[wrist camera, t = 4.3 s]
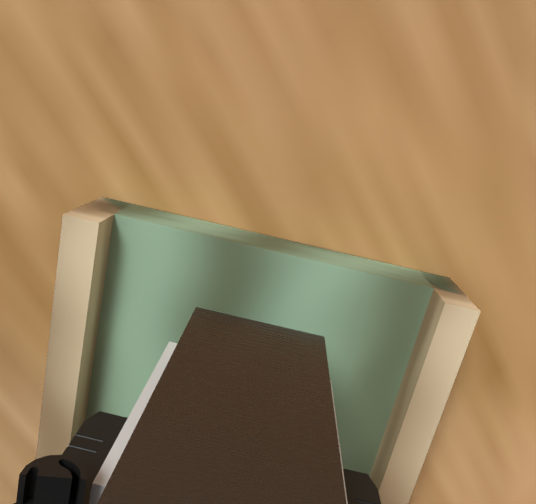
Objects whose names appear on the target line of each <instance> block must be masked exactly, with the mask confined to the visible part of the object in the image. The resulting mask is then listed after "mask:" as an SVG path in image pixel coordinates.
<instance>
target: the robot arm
mask: <svg viewBox="0 0 536 504" xmlns="http://www.w3.org/2000/svg"><path fill="white" fill-rule="evenodd" d="M177 344H178V343H174V342H170V341H169V343H168V345H167V347H166V348H165V350H164V352H163V354H162V356H161V358H160V360H159V361H158V363H157V365H156V367H155V369H154V371H153V372H152V374H151V376H150V378H149V380H148V382H147V384H146V385H145V387H144V389H143V391H142V393H141V395H140V396H139V398H138V400H137V402H136V404H135V406H134V407H133V409H132V411H131V413H130V415H129V417H128V418H127V417H122V416H118V415H114V414H110V413H106V412H102V411H99V412H97V413H96V414H94V415H93V416H91V417H90V418H88V419H86V420H85V421H84V423H83V424H82V426H81V427H80V428H79V430H78V431H77V433H76V436H74V437H73V439H72V440H71V442H70V443H69V446H68V447H67V448H66V449H65V451H64V452H63V454H62V455H48V456H44V457H41V458H38V459H36V460H34V461H32V462H31V463H29V464H28V465H26V466H25V468H24V469H23V470H22V472H21V473H20V475H19V484H18V492H17V501H16V503H14V504H97V502H98V500H99V498H100V496H101V494H102V492H103V490H104V488H105V486H106V484H107V482H108V481H109V479H110V477H111V475H112V473H113V471H114V469H115V467H116V465H117V463H118V461H119V459H120V457H121V455H122V453H123V451H124V449H125V447H126V445H127V443H128V441H129V439H130V437H131V435H132V433H133V431H134V429H135V427H136V425H137V423H138V421H139V419H140V417H141V415H142V413H143V411H144V409H145V407H146V405H147V403H148V401H149V399H150V397H151V395H152V393H153V391H154V389H155V387H156V385H157V383H158V381H159V379H160V377H161V375H162V373H163V371H164V369H165V367H166V365H167V363H168V361H169V359H170V357H171V355H172V353H173V351H174V349H175V348H176V346H177ZM330 383H331V381H330ZM331 390H332V384H331ZM332 398H333V391H332ZM333 405H334V398H333ZM334 413H335V406H334ZM335 421H336V428H337V420H336V413H335ZM337 436H338V443H339V435H338V428H337ZM339 451H340V459H341V466H342V474H343V481H344V489H345V497H346V504H381V501H380V496H379V492H378V489H377V487H376V486H375V484H374V483H373V481H372V480H371V478H370V477H369V475H368V474H365V473H361V472H357V471H353V470H349V469H344V468H343V465H342V457H341V450H340V443H339Z"/></svg>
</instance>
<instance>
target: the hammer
mask: <svg viewBox="0 0 536 504" xmlns="http://www.w3.org/2000/svg"><path fill="white" fill-rule="evenodd" d="M97 504H346V497H345V489H344V481H343V474H342V466H341V459H340V451H339V443H338V436H337V428H336V421H335V413H334V405H333V398H332V390H331V383H330V375H329V367H328V360H327V352H326V345H325V337H324V336H320V335H315V334H311V333H307V332H302V331H298V330H294V329H289V328H285V327H281V326H276V325H272V324H268V323H263V322H259V321H255V320H250V319H246V318H242V317H237V316H233V315H229V314H224V313H220V312H216V311H211V310H207V309H203V308H198V307H196V308H195V310H194V312H193V314H192V316H191V318H190V320H189V322H188V324H187V326H186V328H185V330H184V332H183V334H182V336H181V338H180V340H179V342H178V344H177V346H176V348H175V349H174V351H173V353H172V355H171V357H170V359H169V361H168V363H167V365H166V367H165V369H164V371H163V373H162V375H161V377H160V379H159V381H158V383H157V385H156V387H155V389H154V391H153V393H152V395H151V397H150V399H149V401H148V403H147V405H146V407H145V409H144V411H143V413H142V415H141V417H140V419H139V421H138V423H137V425H136V427H135V429H134V431H133V433H132V435H131V437H130V439H129V441H128V443H127V445H126V447H125V449H124V451H123V453H122V455H121V457H120V459H119V461H118V463H117V465H116V467H115V469H114V471H113V473H112V475H111V477H110V479H109V481H108V482H107V484H106V486H105V488H104V490H103V492H102V494H101V496H100V498H99V500H98V502H97Z"/></svg>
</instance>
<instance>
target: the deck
mask: <svg viewBox="0 0 536 504" xmlns="http://www.w3.org/2000/svg"><path fill="white" fill-rule="evenodd" d="M196 307H198V308H203V309H207V310H211V311H216V312H220V313H224V314H229V315H233V316H237V317H242V318H246V319H250V320H255V321H259V322H263V323H268V324H272V325H276V326H281V327H285V328H289V329H294V330H298V331H302V332H307V333H311V334H315V335H320V336H324V337H325V345H326V352H327V360H328V367H329V375H330V381H331V384H332V391H333V398H334V406H335V413H336V420H337V428H338V435H339V443H340V450H341V457H342V465H343V468H344V469H349V470H353V471H357V472H361V473H365V474H368V475H369V477H370V478H371V480H372V481H373V483H374V484H375V486H376V487H377V489H378V492H379V496H380V501H381V504H408V503H409V500H410V497H411V495H412V492H413V489H414V487H415V484H416V481H417V479H418V476H419V474H420V471H421V468H422V466H423V463H424V460H425V458H426V455H427V452H428V450H429V447H430V444H431V442H432V439H433V436H434V434H435V431H436V428H437V426H438V423H439V421H440V418H441V415H442V413H443V410H444V407H445V405H446V402H447V399H448V397H449V394H450V391H451V389H452V386H453V383H454V381H455V378H456V375H457V373H458V370H459V368H460V365H461V362H462V360H463V357H464V354H465V352H466V349H467V346H468V344H469V341H470V338H471V336H472V333H473V330H474V328H475V325H476V322H477V320H478V317H479V314H480V312H481V311H480V310H479V309H478V308H477V307H476V306H475V305H474V304H473V303H472V302H471V300H470V299H469V298H468V297H467V296H466V295H465V294H464V293H463V292H462V291H461V290H460V289H459V288H458V286H457V285H456V284H455V283H454V282H453V281H452V280H451V279H450V278H448V277H444V276H439V275H435V274H431V273H427V272H422V271H418V270H414V269H409V268H405V267H401V266H396V265H392V264H388V263H384V262H379V261H375V260H371V259H366V258H362V257H358V256H354V255H349V254H345V253H341V252H336V251H332V250H328V249H323V248H319V247H315V246H311V245H306V244H302V243H298V242H293V241H289V240H285V239H281V238H276V237H272V236H268V235H263V234H259V233H255V232H250V231H246V230H242V229H238V228H233V227H229V226H225V225H220V224H216V223H212V222H208V221H203V220H199V219H195V218H190V217H186V216H182V215H177V214H173V213H169V212H165V211H160V210H156V209H152V208H147V207H143V206H139V205H135V204H130V203H126V202H122V201H117V200H113V199H109V198H104V197H101V198H99V199H96V200H94V201H92V202H90V203H87V204H85V205H83V206H81V207H78V208H76V209H74V210H72V211H69V212H67V213H65V214H63V218H62V227H61V236H60V245H59V255H58V264H57V273H56V282H55V291H54V300H53V309H52V318H51V327H50V336H49V345H48V354H47V363H46V372H45V381H44V390H43V399H42V408H41V417H40V426H39V435H38V444H37V453H36V459H38V458H41V457H44V456H48V455H62V454H63V452H64V451H65V449H66V448H67V447H68V446H69V443H70V442H71V440H72V439H73V437H74V436H76V433H77V431H78V430H79V428H80V427H81V426H82V424H83V423H84V421H85V420H86V419H88V418H90V417H91V416H93V415H94V414H96V413H97V412H99V411H102V412H106V413H110V414H114V415H118V416H122V417H127V418H128V417H129V415H130V413H131V411H132V409H133V407H134V406H135V404H136V402H137V400H138V398H139V396H140V395H141V393H142V391H143V389H144V387H145V385H146V384H147V382H148V380H149V378H150V376H151V374H152V372H153V371H154V369H155V367H156V365H157V363H158V361H159V360H160V358H161V356H162V354H163V352H164V350H165V348H166V347H167V345H168V343H169V341H170V342H174V343H178V342H179V340H180V338H181V336H182V334H183V332H184V330H185V328H186V326H187V324H188V322H189V320H190V318H191V316H192V314H193V312H194V310H195V308H196Z"/></svg>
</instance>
